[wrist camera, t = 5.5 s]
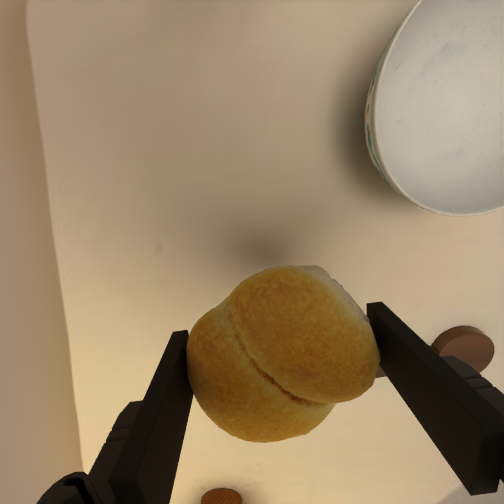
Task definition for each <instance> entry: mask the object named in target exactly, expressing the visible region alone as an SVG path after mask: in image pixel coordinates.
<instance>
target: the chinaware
mask: <svg viewBox="0 0 504 504" xmlns="http://www.w3.org/2000/svg"><path fill="white" fill-rule="evenodd" d="M364 128H365V138H366V143H367V148H368V151H369V154H370V157H371V159H372V161H373V164H374V165H375V167H376V169H377V171H378V172H379V174H380V175H381V177H382V178H383V179H384V180H385V181H386V183H387V184H388V185H389V186H390V187H391V188H392V189H394V190H395V191H396V192H397V193H398V194H400V195H401V196H402V197H404V198H405V199H407V200H408V201H410V202H412V203H413V204H415V205H417V206H419V207H421V208H423V209H425V210H428V211H431V212H434V213H438V214H442V215H448V216H475V215H481V214H486V213H490V212H494V211H497V210H500V209H502V208H504V0H418V1H417V2H416V3H415V5H414V6H413V7H412V8H411V10H410V11H409V12H408V14H407V15H406V17H405V18H404V19H403V21H402V22H401V24H400V25H399V27H398V28H397V30H396V32H395V33H394V35H393V36H392V38H391V40H390V42H389V43H388V45H387V47H386V49H385V51H384V53H383V54H382V57H381V59H380V61H379V63H378V65H377V68H376V70H375V73H374V75H373V78H372V81H371V84H370V88H369V91H368V96H367V100H366V107H365V117H364Z"/></svg>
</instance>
